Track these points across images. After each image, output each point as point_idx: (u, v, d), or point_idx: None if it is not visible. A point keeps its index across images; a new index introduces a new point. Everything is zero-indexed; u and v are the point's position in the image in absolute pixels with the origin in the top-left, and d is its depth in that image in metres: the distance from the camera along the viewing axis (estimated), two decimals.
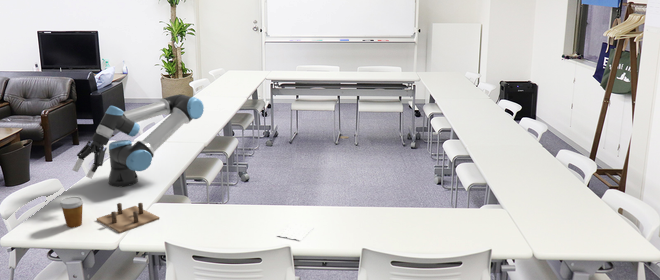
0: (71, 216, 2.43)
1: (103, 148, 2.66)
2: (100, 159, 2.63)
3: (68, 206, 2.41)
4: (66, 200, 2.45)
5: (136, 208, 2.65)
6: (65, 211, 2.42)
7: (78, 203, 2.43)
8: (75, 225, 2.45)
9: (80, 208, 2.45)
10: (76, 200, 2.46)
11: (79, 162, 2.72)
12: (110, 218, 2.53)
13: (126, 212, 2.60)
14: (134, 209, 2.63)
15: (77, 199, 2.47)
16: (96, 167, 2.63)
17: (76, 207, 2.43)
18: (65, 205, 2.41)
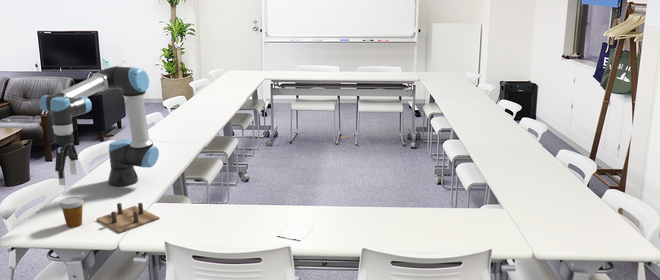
0: (71, 216, 2.43)
1: (58, 150, 2.31)
2: (57, 164, 2.31)
3: (68, 206, 2.41)
4: (66, 200, 2.45)
5: (136, 208, 2.65)
6: (65, 211, 2.42)
7: (78, 203, 2.43)
8: (75, 225, 2.45)
9: (80, 208, 2.45)
10: (76, 200, 2.46)
11: (72, 164, 2.47)
12: (110, 218, 2.53)
13: (126, 212, 2.60)
14: (134, 209, 2.63)
15: (77, 199, 2.47)
16: (60, 173, 2.33)
17: (76, 207, 2.43)
18: (65, 205, 2.41)
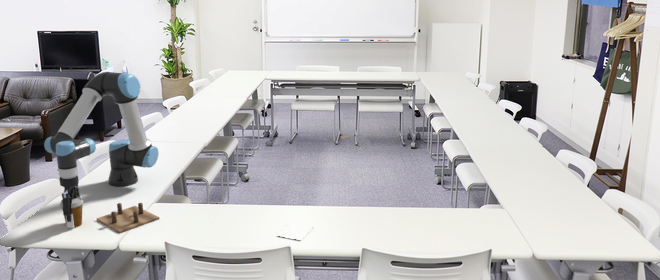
0: None
1: (63, 196, 2.37)
2: (64, 209, 2.38)
3: None
4: None
5: (136, 208, 2.65)
6: None
7: (78, 203, 2.43)
8: (75, 225, 2.45)
9: (80, 208, 2.45)
10: (76, 200, 2.46)
11: None
12: (110, 218, 2.53)
13: (126, 212, 2.60)
14: (134, 209, 2.63)
15: (77, 199, 2.47)
16: (68, 216, 2.41)
17: (76, 207, 2.43)
18: None
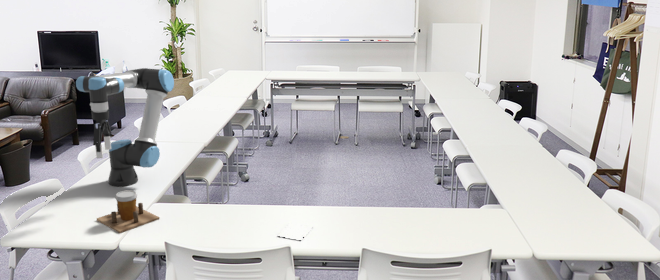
0: (126, 209, 2.49)
1: (95, 126, 2.52)
2: (95, 138, 2.51)
3: (123, 199, 2.47)
4: (120, 194, 2.51)
5: (136, 208, 2.65)
6: (120, 204, 2.48)
7: (133, 196, 2.49)
8: (129, 218, 2.52)
9: (134, 201, 2.51)
10: (130, 193, 2.52)
11: (106, 140, 2.67)
12: (110, 218, 2.53)
13: None
14: None
15: (131, 193, 2.53)
16: (98, 147, 2.53)
17: (131, 200, 2.49)
18: (121, 198, 2.47)
